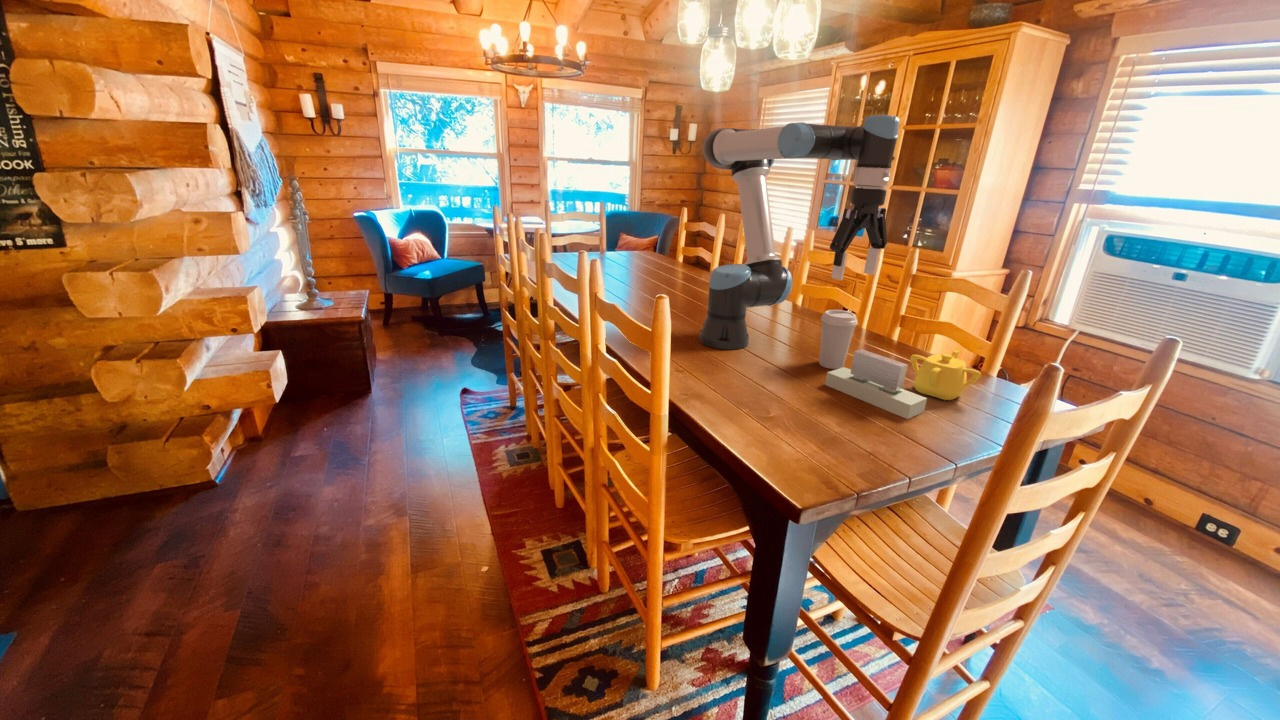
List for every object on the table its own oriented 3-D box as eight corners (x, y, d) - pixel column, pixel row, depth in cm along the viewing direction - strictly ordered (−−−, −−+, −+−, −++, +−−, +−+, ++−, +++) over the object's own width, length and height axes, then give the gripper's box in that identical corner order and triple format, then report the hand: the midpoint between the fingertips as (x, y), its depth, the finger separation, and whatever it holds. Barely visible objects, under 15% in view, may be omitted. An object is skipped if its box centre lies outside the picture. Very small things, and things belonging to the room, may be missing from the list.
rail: (825, 384, 134) (827, 372, 133) (841, 379, 138) (844, 367, 137) (907, 419, 118) (910, 405, 117) (923, 411, 122) (927, 398, 120)
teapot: (899, 380, 139) (908, 343, 136) (949, 382, 139) (959, 346, 135) (922, 402, 127) (932, 363, 123) (977, 405, 126) (988, 366, 122)
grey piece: (847, 388, 132) (854, 351, 128) (854, 385, 133) (861, 349, 130) (892, 406, 123) (901, 367, 119) (898, 403, 124) (908, 364, 120)
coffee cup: (844, 359, 152) (853, 310, 146) (853, 372, 143) (863, 319, 138) (810, 357, 153) (818, 307, 147) (817, 370, 144) (826, 317, 138)
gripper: (852, 188, 114) (835, 284, 122) (913, 188, 128) (895, 274, 136) (823, 186, 120) (809, 278, 128) (884, 186, 133) (868, 269, 141)
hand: (853, 276), depth 132 cm, fingers open, 13 cm apart
